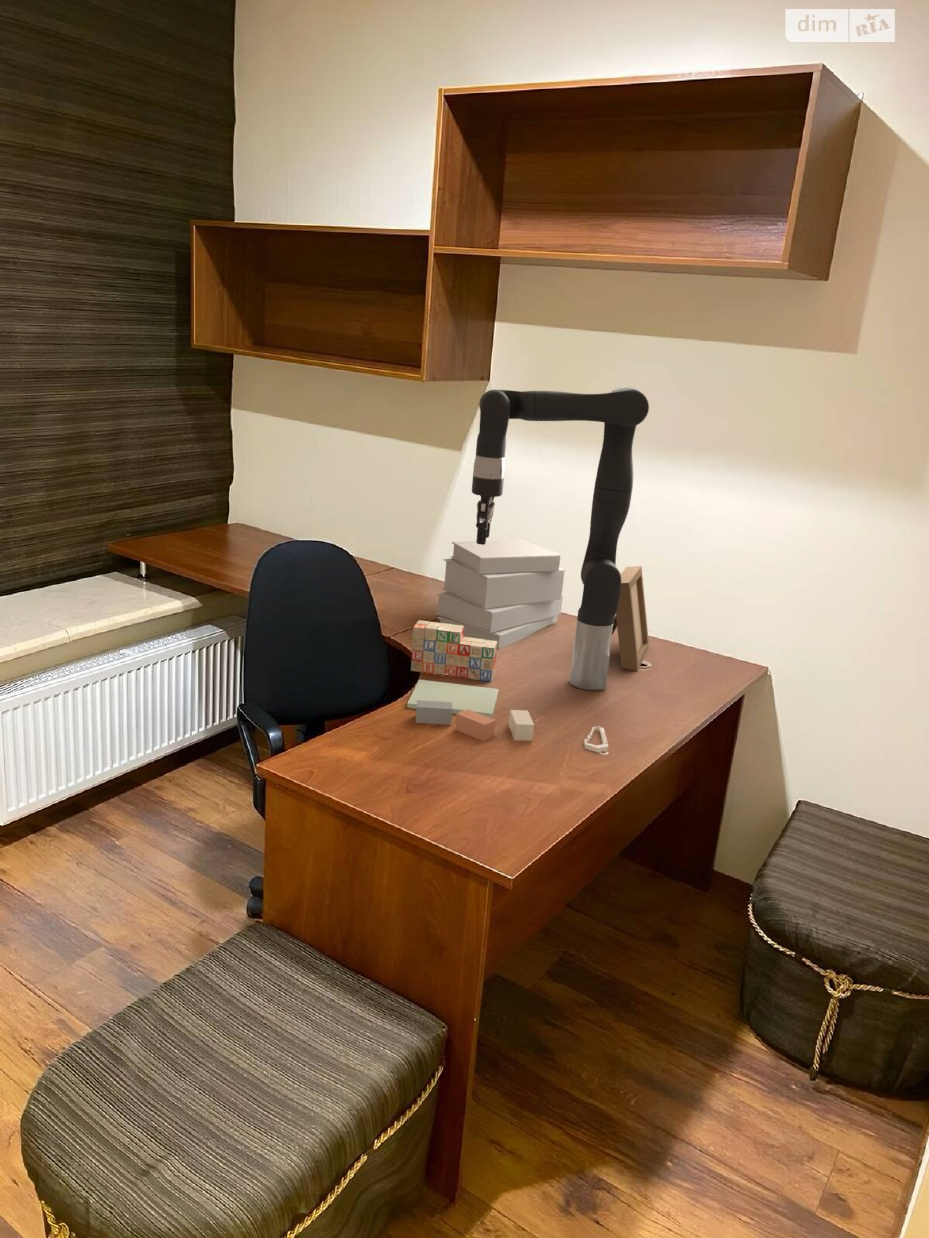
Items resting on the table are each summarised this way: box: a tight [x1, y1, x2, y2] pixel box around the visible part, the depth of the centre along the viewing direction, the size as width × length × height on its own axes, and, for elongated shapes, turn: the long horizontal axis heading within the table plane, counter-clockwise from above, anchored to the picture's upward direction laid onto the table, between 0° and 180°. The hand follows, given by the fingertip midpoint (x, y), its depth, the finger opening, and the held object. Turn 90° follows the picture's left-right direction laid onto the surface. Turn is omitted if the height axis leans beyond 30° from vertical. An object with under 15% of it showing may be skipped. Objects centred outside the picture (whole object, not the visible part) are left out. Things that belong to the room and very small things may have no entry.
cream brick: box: [508, 709, 535, 742], centre depth 209 cm, size 8×4×4 cm, turn 6°
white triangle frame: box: [583, 725, 609, 756], centre depth 208 cm, size 13×5×2 cm, turn 178°
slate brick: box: [415, 700, 453, 726], centre depth 212 cm, size 8×4×4 cm, turn 92°
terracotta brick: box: [454, 709, 497, 742], centre depth 207 cm, size 8×4×4 cm, turn 51°
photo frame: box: [612, 565, 650, 672], centre depth 261 cm, size 15×22×25 cm
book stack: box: [434, 539, 565, 650], centre depth 277 cm, size 30×35×26 cm
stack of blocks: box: [410, 620, 498, 682], centre depth 241 cm, size 21×6×12 cm, turn 79°
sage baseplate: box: [406, 679, 499, 719], centre depth 224 cm, size 20×16×1 cm
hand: (482, 540), depth 230 cm, fingers open, 8 cm apart
